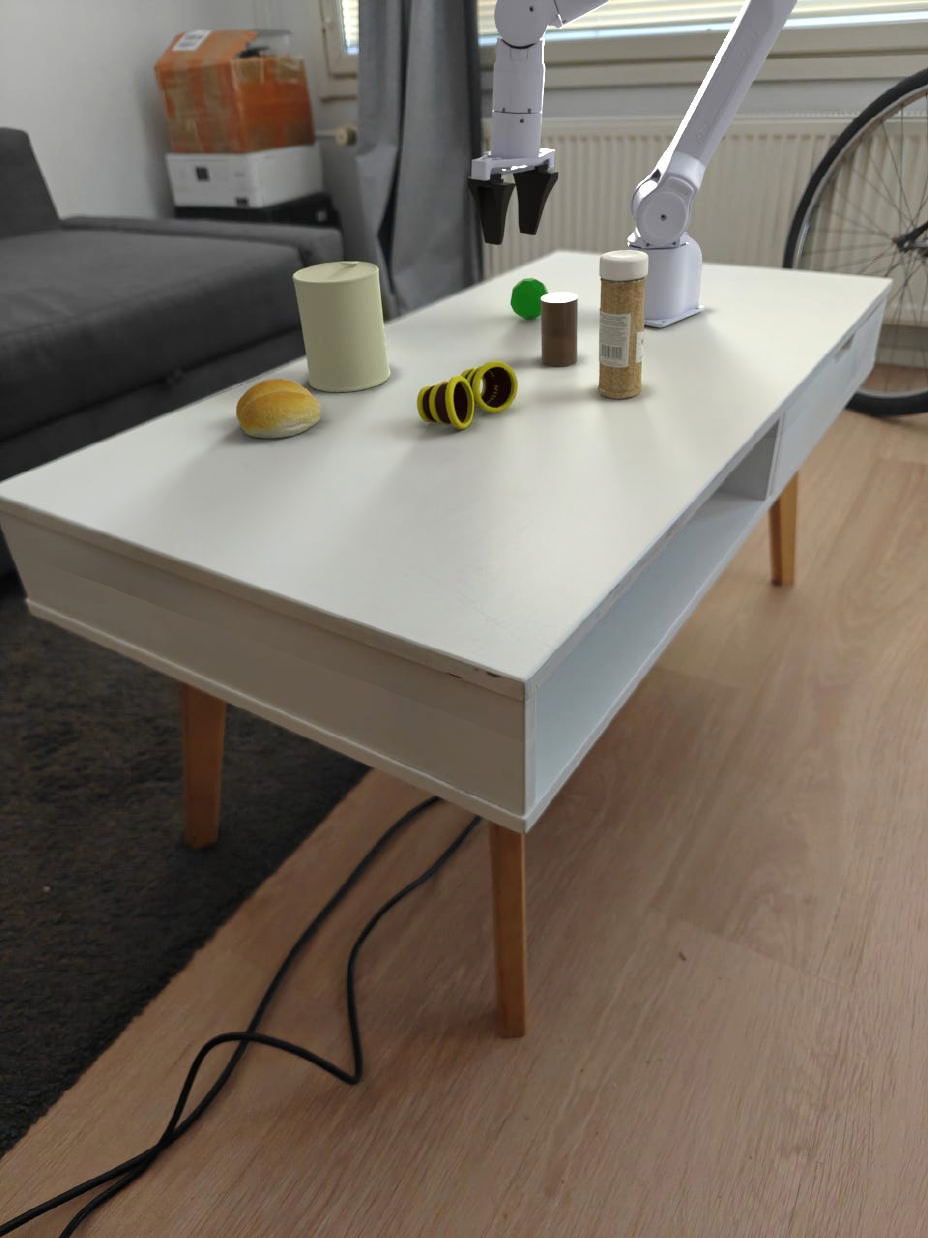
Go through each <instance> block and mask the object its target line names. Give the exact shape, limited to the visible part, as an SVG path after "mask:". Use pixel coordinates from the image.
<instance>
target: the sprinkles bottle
mask: <svg viewBox="0 0 928 1238" xmlns="http://www.w3.org/2000/svg"><path fill="white" fill-rule="evenodd" d="M598 265H599V267H598V268H599V269H598V273H599V274H598V275H599V277H600V279H599V280H600V301H599V302H600V304H599V306H600V307H599V319H598V321H599V322H598V323H599V324H598V325H599V326H598V328H599V329H598V362H599V366H598V367H599V369H598V373H599V374H598V385H597V392H598V393H599V394H600V395H601V396H603V397H606V398H609V399H622V400H623V399H628V398H633V397H635V396H638V395H640V393H641V392H642V390H643V385H642V373H643V372H642V369H643V368H642V365H643V359H644V335H645V334H644V333H645V325H644V296H645V281H646V275H647V274H648V255H647V254H646V253H644V252H641V251H634V250H628V249H624V250H622V249H620V250H614V251H613V250H612V251H609V252H605V253H603V254H602V255H601V256H600V257H599V264H598Z"/></svg>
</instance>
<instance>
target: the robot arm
mask: <svg viewBox="0 0 928 1238" xmlns="http://www.w3.org/2000/svg"><path fill="white" fill-rule="evenodd" d="M612 1H613V0H496V3H495V6H494V10H493V11H494V12H493V19H494V25H495V28H496V31H497V33H498V35H499V36H498V37H497V38H496V41H495V45H494V54H495V62H494V63H493V76H492V77H493V78H492V103H491V104H492V106H491V134H490V150H486V151H483V156H481V157H479V158H475V159H474V158H473V159H471V175H470V176H467V181H466V182H467V185H466V186H467V188H468V190H469V191H470V193H471V196H472V198H473V200H474V203H475V206H476V209H477V212H478V215H479V220H480V225H481V230H482V235H483V240H484V243H485V244H489V245H495V246H501V245H502V243H503V241H504V237H505V229H506V228H505V227H506V219H507V213H508V209H509V205H510V201H511V198H512V195H513V192H514V191H515V189H516V195H517V206H518V208H517V209H518V213H517V214H518V229H519V233H520V234H524V235H530V236H535V235H537V233H538V229H539V227H540V223H541V220H542V217H543V216H542V215H543V212H544V210H545V206H546V203H547V200H548V199H549V196H550V194H551V192H552V190H553V189H554V186H555V185H556V183H557V182H558V180H559V171H558V170H555V169H554V170H553V169H552V168H555V153H556V149H551V148H542V147H541V139H542V138H541V137H542V124H543V123H542V122H543V121H542V120H543V106H544V91H545V89H544V88H545V75H546V74H545V73H546V65H545V63H544V46H545V38H543V37H544V35H545V33H546V32H547V30H548V27H554V28H556V29H558V30H559V29H562V28H563V27H565V26H567V25H569V24H571V23H572V22H575V21H576V20H578V19H580V18H582V17H584V16H586V15H587V14H589V13H591V12H593V11H595V10H597V9H599V8H600V7H603V6H604V5H606V4H608V3H610V2H612ZM797 3H798V0H744V3H743V5H742V6H741V9H740V11H739V13H738V14H737V16H736V18H735V21H734V22H733V24H732V26H731V28H730V29H729V32H728V34H727V36H726V38H725V39H724V42H723V44H721V45H722V46H721V47H720V49H719V51H718V53H717V54H716V56H715V59H714V61H713V63H712V64H711V66H710V68H709V70H708V72H707V74H706V76H705V78H704V80H703V81H702V84H701V86H700V88H699V89H698V91H697V93H696V95H695V97H694V99H693V101H692V103H691V105H690V106H689V109H688V110H687V112H686V114H685V116H684V119H683V120H682V122H681V124H680V125H679V128H678V130H677V132H676V134H675V135H674V137H673V139H672V141H671V143H670V145H669V147H668V148H667V150H665V152H664V153H663V155H662V156H661V157H660V159H659V160H658V161H657V164H656V166H655V168H654V169H653V171H652V172H651V174H650V175H648V176H647V177H646V178H645V179H644V180H642V181H641V182H640V183H639V184H638V185H637V186H636V188H635V189H634V191H633V193H632V196H631V199H630V212H631V216H632V218H633V220H634V222H635V229H634V231H633V232H632V234H631V235H629V236H628V238H627V250H634V251H641V252H644V253H646V254H647V255H648V274H647V275H646V281H645V296H644V326H645V325H646V326H648V327H649V326H650V327H656V328H665V327H668V326H669V325H672V324H674V323H676V322H680V321H682V320H684V319H686V318H689V317H692V316H693V315H696V314H698V313H700V312H703V311H705V306H704V305H700V294H701V282H702V269H703V253H702V250H701V248H700V245H699V244H698V242H697V241H696V240H695V239H694V238H692V237H691V236H690V235H689V233H688V232H686V231H687V229H688V228H689V225H690V224H691V223H690V222H691V219H692V207H693V203H694V200H695V199H696V196H697V195H698V193H699V191H700V189H701V186H702V182H703V179H704V174H705V171H706V168H708V165H709V163H710V161H711V159H712V157H713V156H714V154H715V152H716V151H717V148H718V147H719V145H720V143H721V141H722V140H723V137H724V135H725V134H726V132H727V130H728V128H730V127H729V126H730V125H731V123H732V121H733V120H734V118H735V115H736V114H737V112H738V110H739V108H740V107H741V105H742V103H743V101H744V99H745V98H746V96H747V93H748V92H749V90H750V88H751V86H752V84H753V83H754V81H755V79H756V77H757V76H758V74H759V72H760V70H761V69H762V67H763V65H764V63H765V61H766V59H767V58H768V56H769V54H770V52H771V50H772V48H773V46H774V44H775V43H776V41H777V40H778V37H779V36H780V34H781V32H782V30H783V29H784V26H785V24H786V23H787V21H788V19H789V17H790V15H791V14H792V12H793V10H794V8H795V6H796V5H797ZM508 175H512V176H513V180H514V182H507V181H505V178H502V176H508Z"/></svg>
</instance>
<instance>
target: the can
mask: <svg viewBox="0 0 928 1238" xmlns="http://www.w3.org/2000/svg"><path fill="white" fill-rule="evenodd" d="M379 271H380V269H379V267H378V266H377V265H376V264H374V263H371V262H366V261H336V262H335V261H333V262H325V263H320V264H315V265H310V266H307V267H303V268H302V269H299V270H296V271H295V272H294V273H293V274H292V281H293V285H294V289H295V296H296V301H297V306H298V312H299V318H300V325H301V332H302V336H303V337H302V339H303V343H304V344H303V345H304V349H305V350H304V351H305V356H306V364H307V369H308V383H309V386H311V388H314V389H316V390H319V391H323V392H328V393H349V392H350V393H351V392H357V391H364V390H368V389H371V388H374V387H376V386H379V385H381V384H383V383H385V382H386V381H388V380H389V378H390V377H391V375H392V374H391V373H392V371H391V369H390V366H389V359H388V353H387V350H388V349H387V344H386V343H387V341H386V334H385V324H384V316H383V315H384V314H383V306H382V299H381V298H382V296H381V285H380V275H379Z"/></svg>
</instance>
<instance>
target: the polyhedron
mask: <svg viewBox="0 0 928 1238" xmlns="http://www.w3.org/2000/svg"><path fill="white" fill-rule="evenodd" d="M547 294H550V293H549V291H548V288H547V287H546V284H544V283H543V282H542V281H540V280H538V279H536V278H533V277H528V278H527V277H526V278H523V279H521V280H520V281H518V282H517V283H516V284H515V286H513V288H512V291H511V295H510V296H511V297H510V303H509V304H510V306H511V309H512V311H513V312H514V313H515V314H516V315H517V316H519V317H520V318H523V319H525V320H529V321H530V320H535V319H538V318H539V317H541V297H542V296H544V295H547Z"/></svg>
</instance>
